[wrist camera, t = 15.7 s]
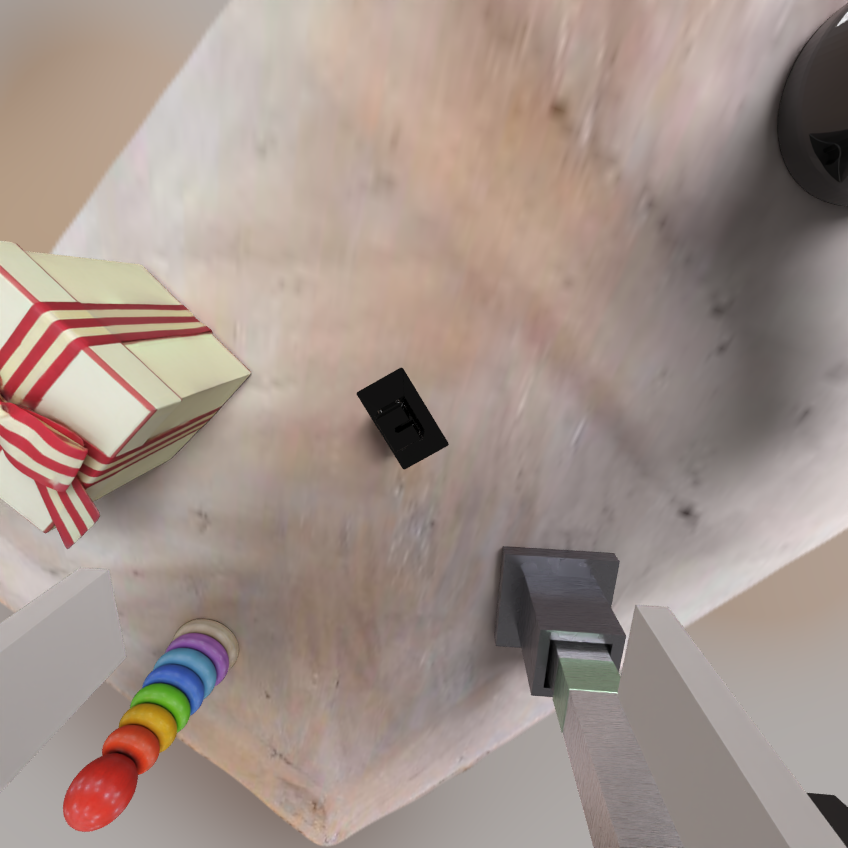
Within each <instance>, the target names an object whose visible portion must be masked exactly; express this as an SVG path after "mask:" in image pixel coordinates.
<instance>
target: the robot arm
mask: <svg viewBox="0 0 848 848" xmlns="http://www.w3.org/2000/svg"><path fill="white" fill-rule="evenodd" d="M778 135H779V143H780V148H781V153H782V156H783V159H784V161H785V164H786V166H787V168H788V170H789V172H790V173H791V175H792V176H793V178H794V179H795V180H796V182H797V183H798V184H799V185H800V186H801V187H802V188H803V189H805V190H806V191H807V192H808V193H810V194H811V195H813V196H815V197H816V198H818V199H821V200H823V201H825V202H828V203H832V204H836V205H843V206H848V3H847V4H846V5H845V6H843V7H842V8H841V9H839V10H838V11H837V12H836V13H834V14H833V15H832V16H831V17H830V18H829V19H828V20H827V21H826V22H825V23H824V24H823V25H822V26H821V27H820V28H819V29H818V30H817V32H816V33H815V34H814V35H813V36H812V38H811V39H810V40H809V41H808V43H807V44H806V46H805V47H804V49H803V50H802V52H801V53H800V55H799V57H798V58H797V60H796V62H795V64H794V66H793V68H792V70H791V72H790V75H789V77H788V80H787V82H786V85H785V88H784V91H783V95H782V99H781V104H780V109H779V119H778ZM126 657H127V656H126V651H125V646H124V641H123V636H122V631H121V626H120V621H119V616H118V611H117V606H116V601H115V597H114V592H113V587H112V582H111V577H110V572H109V569H94V568H79V569H77V570H76V571H75V572H73V573H72V574H70V575H69V576H67V577H66V578H65V579H63V580H62V581H60V582H59V583H57V584H56V585H54V586H53V587H52V588H50V589H49V590H47V591H46V592H44V593H43V594H42V595H40V596H39V597H37V598H36V599H34V600H33V601H32V602H30V603H29V604H27V605H26V606H24V607H23V608H22V609H20V610H19V611H17V612H16V613H14V614H13V615H11V616H10V617H9V618H7V619H6V620H4V621H3V622H1V623H0V793H1V792H2V791H3V790H4V788H5V787H6V786H7V785H8V784H9V783H10V782H11V781H12V780H13V779H14V778H15V776H16V775H17V774H18V773H19V772H20V771H21V770H22V769H23V768H24V767H25V766H26V765H27V764H28V763H29V762H30V760H31V759H32V758H33V757H34V756H35V755H36V754H37V753H38V752H39V751H40V750H41V749H42V748H43V746H44V745H45V744H46V743H47V742H48V741H49V740H50V739H51V738H52V737H53V736H54V735H55V733H56V732H57V731H58V730H59V729H60V728H61V727H62V726H63V725H64V724H65V723H66V722H67V721H68V719H70V717H71V716H72V715H73V714H74V713H75V712H76V711H77V710H78V709H79V708H80V707H81V706H82V704H83V703H84V702H85V701H86V700H87V699H88V698H89V697H90V696H91V695H92V694H93V693H94V692H95V691H96V689H97V688H98V687H99V686H100V685H101V684H102V683H103V682H104V681H105V680H106V679H107V678H108V677H109V675H110V674H111V673H112V672H113V671H114V670H115V669H116V668H117V667H118V666H119V665H120V664H121V663H122V661H123V660H124V659H125V658H126ZM617 696H618V698H619V701H620V703H621V705H622V707H623V710H624V712H625V714H626V717H627V719H628V721H629V723H630V726H631V728H632V730H633V733H634V735H635V737H636V739H637V742H638V744H639V746H640V748H641V751H642V753H643V755H644V758H645V760H646V762H647V764H648V767H649V769H650V771H651V774H652V776H653V778H654V780H655V783H656V785H657V787H658V790H659V792H660V794H661V796H662V799H663V801H664V803H665V805H666V808H667V810H668V812H669V815H670V817H671V819H672V821H673V824H674V826H675V828H676V831H677V833H678V835H679V837H680V840H681V842H682V844H683V847H684V848H848V807H847V806H846V805H845V804H843V803H842V802H841V801H840V800H839V799H838V798H837V797H836V796H834V795H825V794H814V793H806V792H805V791H804V789H803V788H802V787H801V786H800V784H799V783H798V781H797V780H796V778H795V777H794V776H793V774H792V773H791V772H790V770H789V769H788V768H787V766H786V765H785V764H784V762H783V761H782V760H781V758H780V757H779V756H778V754H777V753H776V752H775V750H774V749H773V747H772V746H771V745H770V744H769V742H768V741H767V740H766V738H765V737H764V735H763V734H762V733H761V731H760V730H759V729H758V727H757V726H756V725H755V723H754V722H753V721H752V719H751V718H750V717H749V715H748V714H747V712H746V711H745V710H744V708H743V707H742V706H741V704H740V703H739V702H738V700H737V699H736V698H735V696H734V695H733V694H732V692H731V691H730V690H729V688H728V687H727V685H726V684H725V683H724V682H723V680H722V679H721V678H720V676H719V675H718V673H717V672H716V671H715V669H714V668H713V667H712V665H711V664H710V663H709V661H708V660H707V659H706V657H705V656H704V654H703V653H702V652H701V651H700V649H699V648H698V646H697V645H696V644H695V642H694V641H693V640H692V638H691V637H690V636H689V634H688V633H687V632H686V630H685V629H684V628H683V626H682V625H681V623H680V622H679V621H678V619H677V618H676V617H675V615H674V614H673V613H672V611H671V610H670V609H669V607H659V606H645V605H635V610H634V615H633V620H632V625H631V630H630V634H629V639H628V644H627V649H626V654H625V659H624V663H623V668H622V673H621V678H620V683H619V688H618V692H617Z"/></svg>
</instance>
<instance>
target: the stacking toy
mask: <svg viewBox="0 0 848 848" xmlns="http://www.w3.org/2000/svg"><path fill="white" fill-rule="evenodd" d="M238 653H239V646H238V642H237V640H236V638H235V636H234V635H233V633H232V632H231V631H230V630H229V629H228V628H227V627H225V626H224V625H222V624H220V623H218V622H216V621H213V620H208V619H197V620H193V621H190V622H188V623H186V624H184V625H183V626H182V627H181V628H180V629H179V630H178V631H177V632H176V634H175V636H174V638H173V641H172V642H171V644H170V645H169V646H168V648H167V650H166V652H165V654H164V655H162V656H161V657H160V658H159V659H158V661H157V662H156V664H155V666H154V669H153V671H152V672H151V673H150V674H149V675H148V676H147V677H146V679H145V681H144V683H143V687H142V689H141V690H140V691H139V692H138V693H137V694H136V695H135V696H134V698H133V700H132V702H131V705H130V709H129V710H128V711H127V712H126V713H125V714H124V716H123V717H122V718H121V720H120V723H119V728H118V729H116V730H115V731H113V732H112V733H111V734H110V735H109V736H108V738H107V739H106V741H105V743H104V745H103V749H102V755H103V756H101V757H100V758H97V759H95V760H94V761H92V762H91V763H89V764H88V765H87V766H86V767H84V768H83V769H82V770H81V771H80V772H79V773H78V775H77V776H76V777H75V778H74V780H73V781H72V783H71V785H70V786H69V788H68V790H67V793H66V795H65V798H64V804H63V812H64V817H65V820H66V822H67V823H68V825H70V827H72V828H73V829H75V830H78V831H82V832H89V831H93V830H97V829H100V828H102V827H104V826H106V825H108V824H109V823H111V822H112V821H113V820H114V819H116V818H117V817H118V816H119V815H120V814H121V813H122V812H123V810H124V809H125V808H126V807H127V805H128V803H129V802H130V800H131V799H132V796H133V794H134V792H135V789H136V785H137V779H138V775H139V774H142V773H144V772H146V771H147V770H149V769H150V768H151V767H152V766H153V765H154V763H155V762H156V760H157V758H158V755H159V753H160V752H162V751H164V750H166V749H167V748H168V747H169V746H170V745H171V743H173V741H174V739H175V737H176V734H177V733H178V732H179V731H180V730H181V729H183V728H184V726H185V725H186V724H187V722H188V720H189V717H190V716H191V715H192V714H193V713H195V712H196V711H197V710H198V709H199V707H200V706H201V704H202V702H203V699H205V698H206V697H207V696H208V695H209V694H210V693H211V692H212V690H213V688H214V686H216V685H218V684H219V683H220V682H221V681H222V680H223V679H224V678H225V676H226V674H227V672H228V670H229V669H230V668H231V667H232V666H233V665H234V664H235V662H236V660H237V657H238Z"/></svg>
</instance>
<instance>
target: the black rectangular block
mask: <svg viewBox="0 0 848 848" xmlns="http://www.w3.org/2000/svg"><path fill="white" fill-rule="evenodd" d="M357 396H358V397H359V399H360V400H361V402H362V404H363V405H364V407H365V408H366V410H367V412H368V413H369V415H370V417H371V418H372V420H373V421H374V423H375V425H376V426H377V428H378V429H379V431H380V433H381V434H382V436H383V437H384V439H385V441H386V442H387V444H388V446H389V447H390V449H391V450H392V452H393V454H394V455H395V457H396V458H397V460H398V462H399V463H400V465H401V466H402V468H403V469H406V468H408V467H410V466H412V465H414V464H415V463H417V462H419V461H421V460H423V459H424V458H426V457H428V456H430V455H432V454H434V453H435V452H437V451H439V450H441V449H443V448H444V447H446V446H448V442H447V440H446V439H445V437H444V435H443V434H442V432H441V430H440V429H439V427H438V425H437V424H436V422H435V420H434V419H433V417H432V415H431V414H430V412H429V410H428V409H427V407H426V405H425V404H424V402H423V401H422V399H421V397H420V396H419V394H418V392H417V391H416V389H415V387H414V386H413V384H412V382H411V381H410V379H409V377H408V376H407V374H406V372H405V371H404V369H403V368H399V369H397V370H396V371H394V372H392V373H390V374H389V375H387V376H385V377H383V378H382V379H380V380H378V381H376V382H375V383H373V384H371V385H369V386H367V387H366V388H364V389H362V390H360V391H359V392H357Z"/></svg>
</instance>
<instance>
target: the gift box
mask: <svg viewBox="0 0 848 848" xmlns="http://www.w3.org/2000/svg"><path fill="white" fill-rule="evenodd" d="M250 374H251V371H250V370H249V369H248V368H247V367H245V366H244V365H243V364H242V363H241V362H240V361H239V360H238V359H237V358H236V357H235V356H234V355H233V354H232V353H231V352H230V351H229V350H228V349H227V348H226V347H225V346H224V345H223V344H222V343H221V342H220V341H219V340H218V339H217V338H216V337H215V336H214V335H213V334H212V330H211V329H209V328H208V327H207V326H205V325H204V324H202V323H201V322H199V321H198V320H197V319H196V318H195V317H194V316H193V315H192V313H191V312H190V311H189V310H188V309H187V308H186V307H185V306H184V305H182V304H181V303H180V302H179V301H178V300H177V299H176V298H175V297H174V296H173V295H172V294H171V293H170V292H169V291H168V290H167V289H166V288H165V287H164V286H163V285H162V284H161V283H160V282H159V281H158V280H157V279H156V278H155V277H154V276H153V275H152V274H150V273H149V272H148V271H147V270H146V269H145V268H144V267H143V266H142V265H139V264H132V263H123V262H115V261H106V260H98V259H89V258H81V257H72V256H63V255H54V254H45V253H36V252H28V251H24V250H23V249H22V248H21V247H20V246H19V245H18V244H16V243H13V242H5V241H0V499H2V500H3V501H4V502H5V503H7V504H8V505H9V506H11V507H12V508H13V509H14V510H16V511H17V512H18V513H19V514H21V515H22V516H23V517H24V518H26V519H27V520H28V521H29V522H31V523H32V524H33V525H34V526H36V527H37V528H38V529H39V530H41V531H42V532H44V533H47V532H49V531H51V530H53V529H54V528H57V530H58V532H59V534H60V536H61V538H62V541H63V543H64V545H65V547H66V548H67V549H69V548H70V547H71V546H72V545H73V544H75V542H76V541H77V540H78V539H79V538H81V537H82V536H83V535H84V534H85V532H86V531H87V530H88V529H90V528H91V527H92V526H93V525H94V524H95V522H96V521H97V520H98V518H99V517H100V514H99V511H98V509H97V508H96V506H95V504H94V503H93V502H94V501H96V500H97V499H99V498H101V497H103V496H104V495H106V494H108V493H110V492H111V491H113V490H115V489H117V488H119V487H120V486H122V485H124V484H126V483H128V482H130V481H131V480H133V479H135V478H137V477H139V476H140V475H142V474H144V473H146V472H148V471H149V470H151V469H153V468H155V467H157V466H159V465H161V464H163V463H164V462H166V461H168V460H170V459H171V458H172V457H173V456H174V455H175V454H176V453H177V452H178V451H179V450H180V449H181V448H182V447H183V446H184V445H185V444H186V443H187V442H188V441H189V440H190V439H191V438H192V437H193V436H194V435H195V433H196V432H197V431H198V430H199V429H200V428H202V427H203V426H204V425H205V424H206V423H207V422H208V421H209V420H210V419H211V418H212V417H213V415H214V414H215V413H216V412H217V411H218V410H219V409H220V408H221V406H222V405H223V404H224V403H225V402H226V401H227V400H228V399H229V398H230V396H231V395H232V394H233V393H234V392H235V391H236V390H237V389H238V388H239V387H240V386H241V385H242V383H243V382H244V381H245V380H246V379H247V378H248V377H249V376H250Z"/></svg>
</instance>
